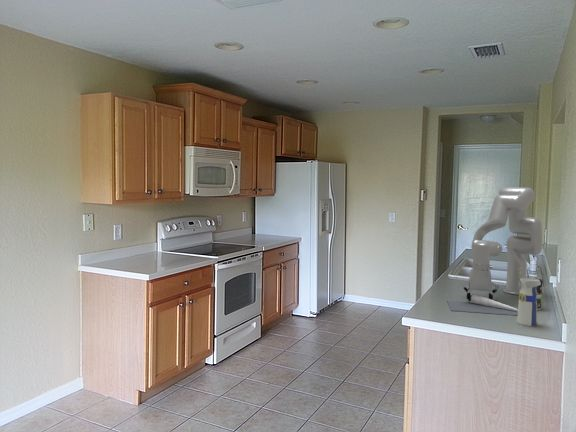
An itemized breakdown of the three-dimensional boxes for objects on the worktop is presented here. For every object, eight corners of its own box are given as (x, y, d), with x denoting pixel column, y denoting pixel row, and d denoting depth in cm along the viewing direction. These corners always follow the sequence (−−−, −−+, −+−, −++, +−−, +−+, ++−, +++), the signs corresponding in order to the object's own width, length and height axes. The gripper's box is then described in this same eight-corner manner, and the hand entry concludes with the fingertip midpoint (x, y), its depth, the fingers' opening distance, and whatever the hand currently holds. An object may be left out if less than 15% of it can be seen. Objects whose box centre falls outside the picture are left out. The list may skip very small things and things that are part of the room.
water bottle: (528, 327, 194) (531, 268, 192) (511, 321, 202) (514, 265, 200) (542, 325, 197) (545, 267, 195) (525, 319, 205) (528, 263, 203)
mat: (511, 305, 227) (511, 305, 227) (520, 316, 210) (520, 315, 210) (447, 301, 234) (447, 300, 234) (451, 310, 217) (451, 310, 217)
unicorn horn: (518, 313, 212) (518, 303, 212) (468, 303, 230) (469, 294, 229) (522, 312, 215) (523, 302, 215) (473, 301, 233) (473, 292, 232)
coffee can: (539, 306, 227) (541, 278, 226) (542, 311, 218) (544, 282, 217) (516, 303, 231) (518, 276, 230) (518, 309, 222) (520, 280, 221)
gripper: (498, 267, 229) (496, 300, 231) (461, 265, 233) (460, 298, 235) (501, 269, 222) (499, 304, 223) (463, 267, 226) (461, 302, 227)
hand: (479, 301), depth 229 cm, fingers open, 9 cm apart
